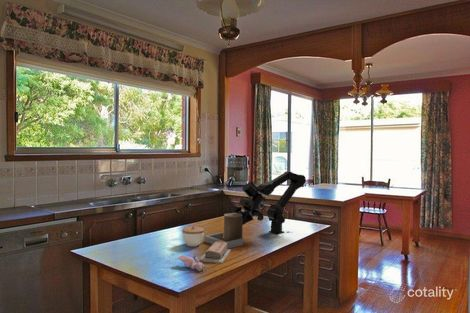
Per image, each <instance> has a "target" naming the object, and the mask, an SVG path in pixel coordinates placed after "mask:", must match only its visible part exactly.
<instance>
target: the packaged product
mask: <svg viewBox="0 0 470 313" xmlns="http://www.w3.org/2000/svg"><path fill="white" fill-rule="evenodd" d="M227 245H228V244H227V243H226V242H218V241H216V242H214V243H213V244H210V246H209V247H208V248H207V249H206V250H205V252H204V254H202V255H201V257H200V258H199V262H205V263H217V264H218V263H219V264H222V263H224V261H225V259H226V258H227V257H228V256H229V254H230V253H231V251H232V248H229V249H227Z"/></svg>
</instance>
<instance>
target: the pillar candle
mask: <svg viewBox="0 0 470 313" xmlns="http://www.w3.org/2000/svg"><path fill="white" fill-rule="evenodd" d="M223 215H224V216H223V241H226V242H228V241H232V240H236V239H241V238H242V239H243V225H242V223H243V221H242V220H243V215H242V214H239V213H236V212H235V211H234V212H229V213H223Z"/></svg>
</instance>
